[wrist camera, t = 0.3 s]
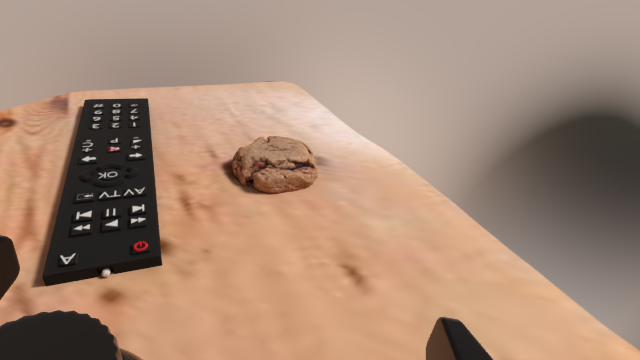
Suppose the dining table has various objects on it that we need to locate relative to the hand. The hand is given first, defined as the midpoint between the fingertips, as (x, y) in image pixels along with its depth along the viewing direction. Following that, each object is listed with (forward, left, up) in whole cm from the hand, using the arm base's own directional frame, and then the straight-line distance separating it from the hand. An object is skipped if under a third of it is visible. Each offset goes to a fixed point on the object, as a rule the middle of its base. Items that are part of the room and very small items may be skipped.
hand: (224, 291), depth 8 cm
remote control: (+27, +21, -18) cm, 38 cm away
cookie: (+32, +5, -17) cm, 36 cm away
